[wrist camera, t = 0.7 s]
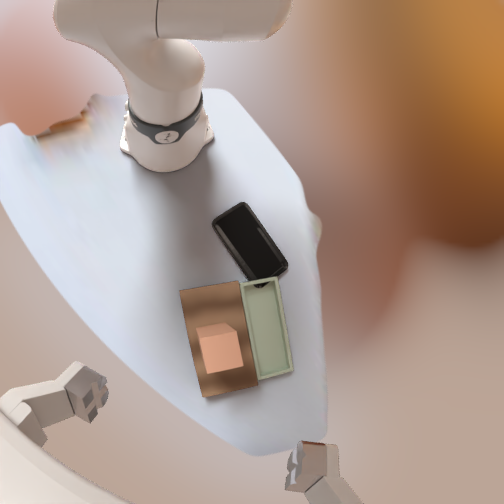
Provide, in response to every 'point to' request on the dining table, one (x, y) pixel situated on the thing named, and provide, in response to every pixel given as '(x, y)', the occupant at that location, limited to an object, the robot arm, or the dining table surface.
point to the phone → (249, 244)
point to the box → (266, 328)
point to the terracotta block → (219, 347)
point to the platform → (210, 313)
